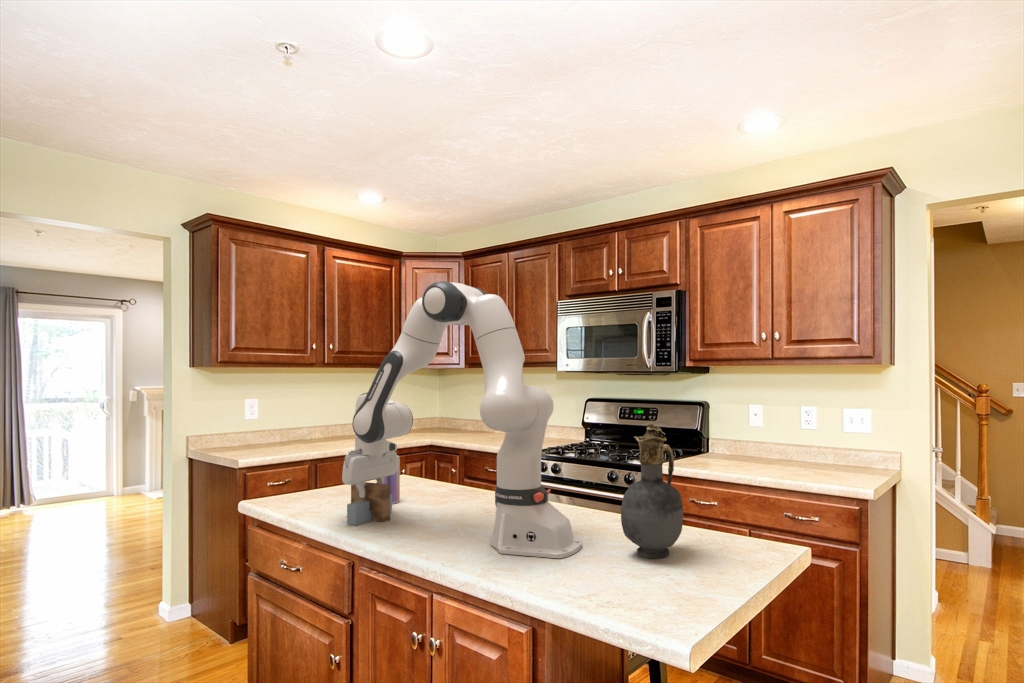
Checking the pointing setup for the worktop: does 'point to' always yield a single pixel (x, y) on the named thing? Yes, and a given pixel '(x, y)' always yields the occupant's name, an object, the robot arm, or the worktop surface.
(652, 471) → the pitcher
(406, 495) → the worktop surface
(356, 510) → the notched grey block
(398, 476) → the beverage can
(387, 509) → the wooden bridge block
